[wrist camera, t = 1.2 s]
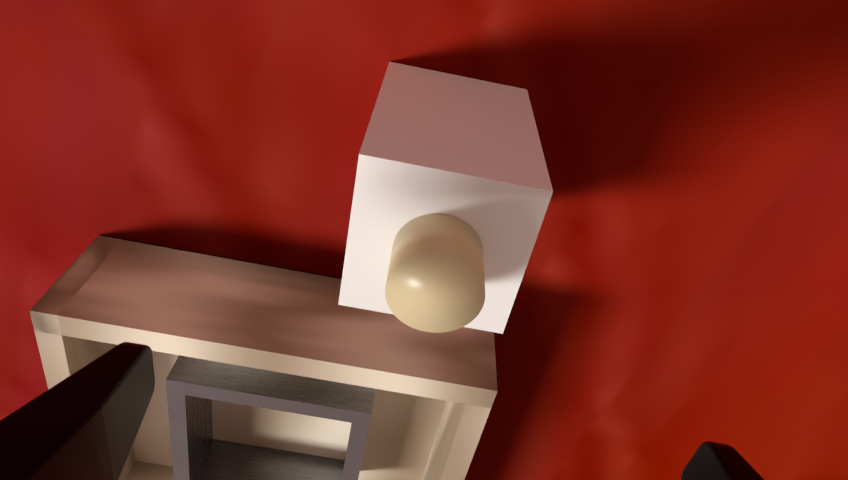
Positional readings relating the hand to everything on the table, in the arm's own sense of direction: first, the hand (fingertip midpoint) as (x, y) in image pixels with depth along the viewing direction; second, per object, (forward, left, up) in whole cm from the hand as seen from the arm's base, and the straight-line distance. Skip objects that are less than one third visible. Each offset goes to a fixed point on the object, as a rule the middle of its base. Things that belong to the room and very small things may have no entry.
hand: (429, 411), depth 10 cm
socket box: (+4, +12, -10) cm, 16 cm away
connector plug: (0, 0, -10) cm, 10 cm away
